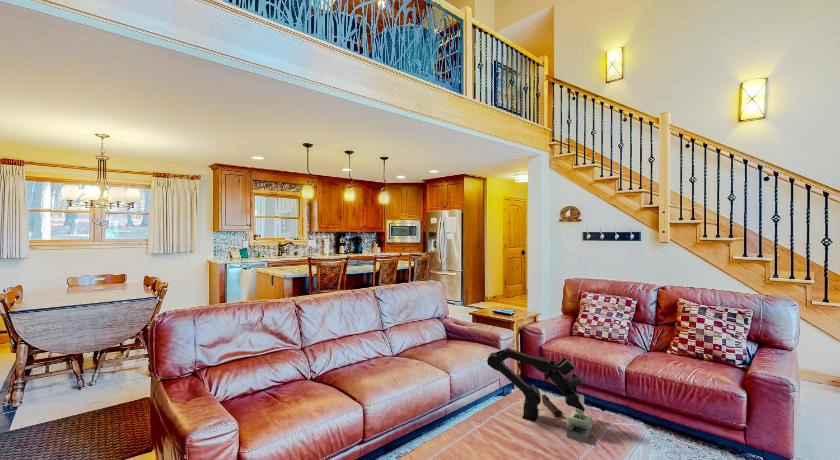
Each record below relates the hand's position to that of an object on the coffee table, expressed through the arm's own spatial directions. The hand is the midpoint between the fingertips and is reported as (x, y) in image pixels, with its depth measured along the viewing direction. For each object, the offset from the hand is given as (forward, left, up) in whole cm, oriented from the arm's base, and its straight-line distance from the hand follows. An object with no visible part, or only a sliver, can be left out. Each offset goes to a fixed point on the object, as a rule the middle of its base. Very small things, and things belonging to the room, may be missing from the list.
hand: (583, 406), depth 185 cm
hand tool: (-18, +7, -10) cm, 22 cm away
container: (-1, 0, -9) cm, 9 cm away
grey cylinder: (-1, 0, -8) cm, 8 cm away
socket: (+1, -11, -9) cm, 15 cm away
